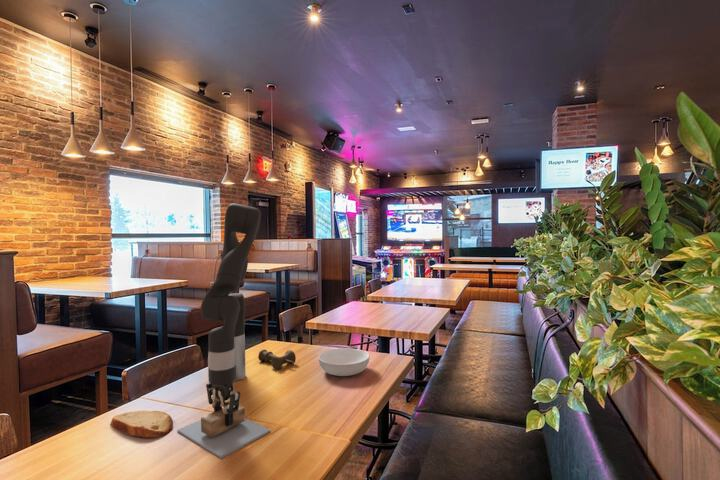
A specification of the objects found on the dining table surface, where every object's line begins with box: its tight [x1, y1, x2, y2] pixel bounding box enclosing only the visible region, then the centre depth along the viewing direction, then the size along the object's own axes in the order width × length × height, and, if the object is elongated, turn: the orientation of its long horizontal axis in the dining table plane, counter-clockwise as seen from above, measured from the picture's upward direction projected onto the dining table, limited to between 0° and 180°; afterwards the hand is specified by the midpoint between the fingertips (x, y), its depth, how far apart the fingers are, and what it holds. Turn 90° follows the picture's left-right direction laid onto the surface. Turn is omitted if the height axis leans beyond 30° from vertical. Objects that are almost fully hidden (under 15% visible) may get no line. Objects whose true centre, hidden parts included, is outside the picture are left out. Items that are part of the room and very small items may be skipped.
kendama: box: [257, 349, 297, 371], centre depth 167 cm, size 6×10×20 cm
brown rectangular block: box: [200, 404, 246, 437], centre depth 112 cm, size 11×5×4 cm, turn 143°
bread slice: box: [109, 410, 174, 439], centre depth 116 cm, size 18×18×4 cm
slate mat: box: [176, 417, 271, 459], centre depth 112 cm, size 22×16×1 cm
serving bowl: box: [318, 347, 370, 377], centre depth 157 cm, size 21×21×7 cm
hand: (223, 422), depth 112 cm, fingers closed on brown rectangular block, 4 cm apart
